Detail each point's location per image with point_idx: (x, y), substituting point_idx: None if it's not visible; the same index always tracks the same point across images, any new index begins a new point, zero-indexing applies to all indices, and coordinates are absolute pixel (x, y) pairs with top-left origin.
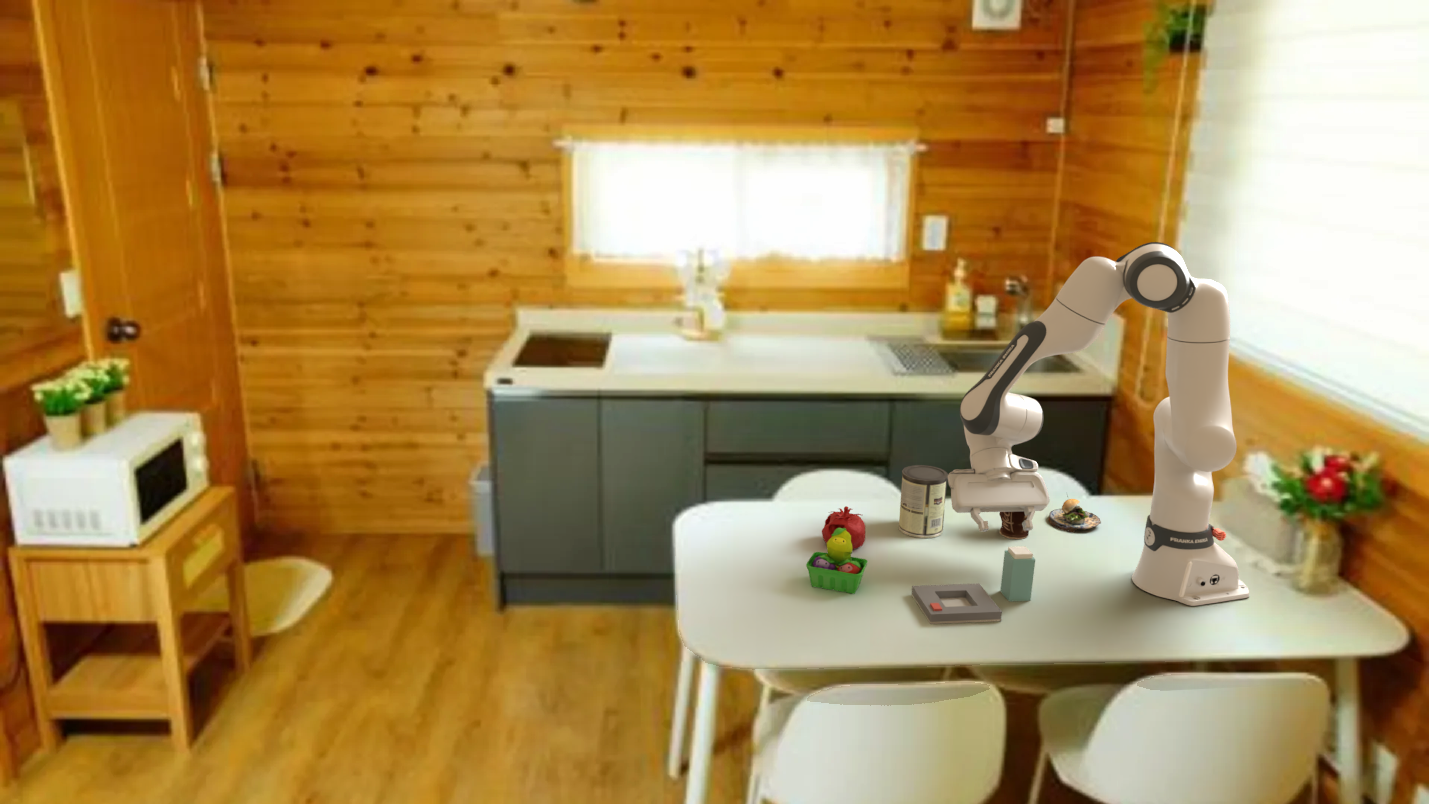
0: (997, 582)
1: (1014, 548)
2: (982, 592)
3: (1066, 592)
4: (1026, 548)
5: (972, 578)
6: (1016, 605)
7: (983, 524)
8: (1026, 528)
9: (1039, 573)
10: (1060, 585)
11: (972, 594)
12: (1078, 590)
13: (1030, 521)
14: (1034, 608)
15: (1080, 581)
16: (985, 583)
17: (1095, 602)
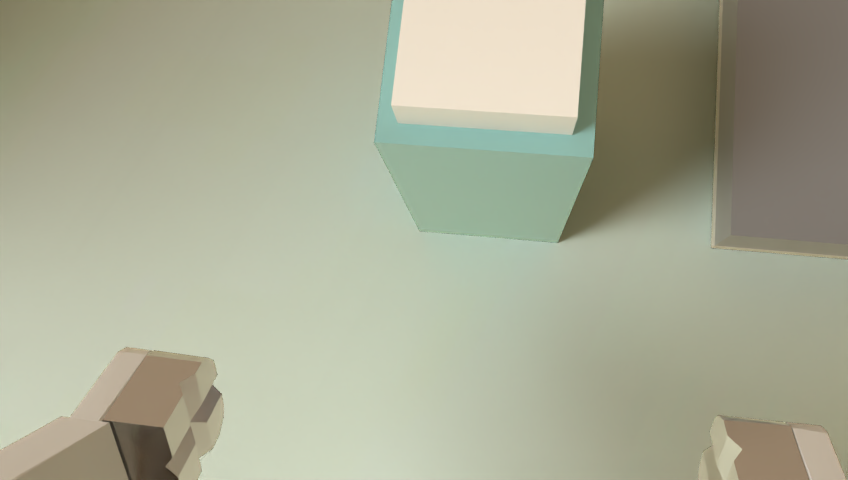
0: (519, 360)
1: (531, 71)
2: (763, 107)
3: (172, 163)
4: (409, 54)
5: (665, 450)
6: None
7: (808, 465)
8: (207, 361)
9: None
10: (152, 251)
11: (845, 91)
12: (90, 176)
13: (100, 402)
14: None
15: (6, 280)
16: (606, 361)
17: (91, 33)
